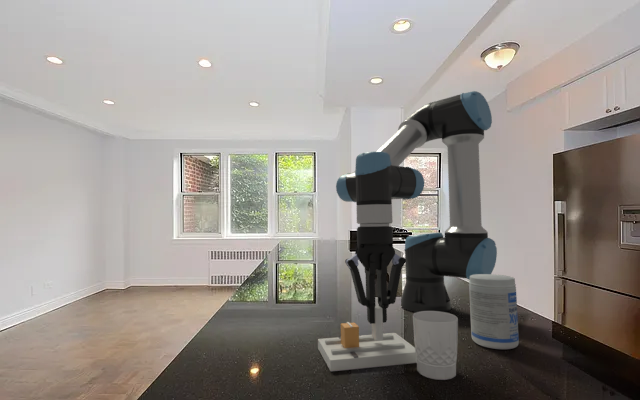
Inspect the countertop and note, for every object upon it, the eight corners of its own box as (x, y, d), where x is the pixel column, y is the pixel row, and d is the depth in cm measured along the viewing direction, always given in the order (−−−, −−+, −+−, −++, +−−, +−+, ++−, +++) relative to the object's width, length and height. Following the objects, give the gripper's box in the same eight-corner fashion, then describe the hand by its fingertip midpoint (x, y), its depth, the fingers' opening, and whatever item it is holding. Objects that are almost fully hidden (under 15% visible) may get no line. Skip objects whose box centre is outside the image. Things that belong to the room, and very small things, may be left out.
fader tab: (354, 341, 73) (354, 321, 74) (359, 346, 70) (358, 325, 71) (340, 343, 73) (340, 322, 73) (344, 348, 70) (344, 326, 70)
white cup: (408, 364, 67) (406, 311, 68) (447, 362, 68) (445, 310, 69) (423, 383, 59) (421, 323, 60) (468, 380, 60) (466, 321, 61)
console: (395, 341, 80) (395, 330, 80) (420, 362, 68) (420, 348, 68) (318, 348, 76) (317, 336, 76) (330, 371, 64) (330, 356, 65)
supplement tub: (523, 353, 72) (520, 281, 73) (473, 348, 75) (471, 279, 76) (513, 338, 81) (510, 274, 82) (469, 334, 84) (466, 272, 85)
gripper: (396, 224, 79) (399, 330, 78) (340, 225, 77) (342, 335, 75) (410, 224, 72) (414, 342, 71) (349, 226, 69) (352, 347, 68)
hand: (377, 338), depth 73 cm, fingers closed
